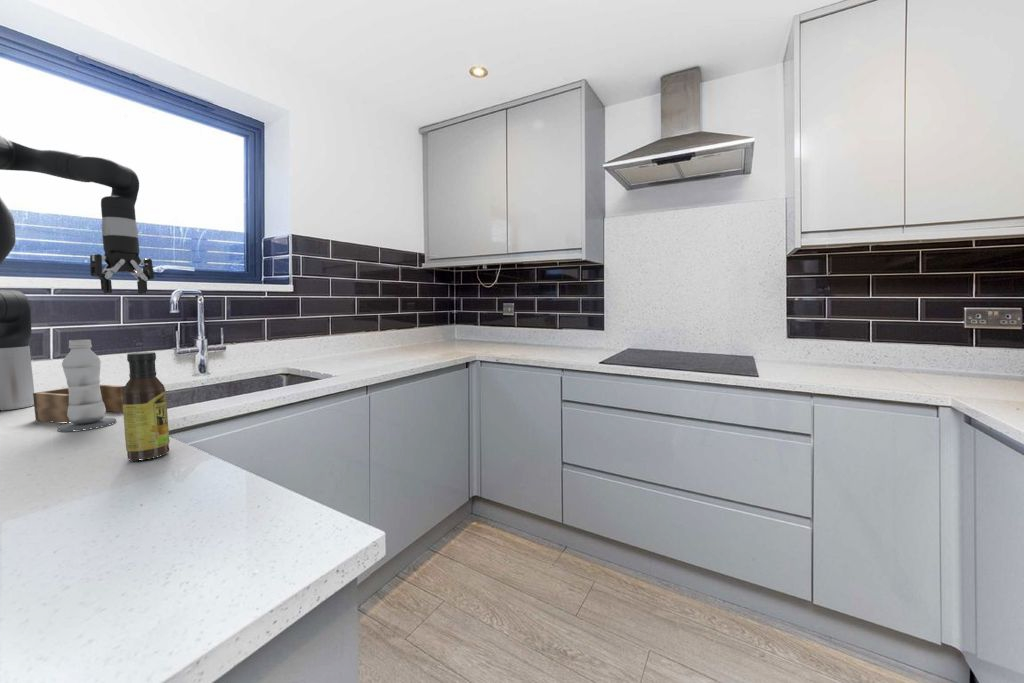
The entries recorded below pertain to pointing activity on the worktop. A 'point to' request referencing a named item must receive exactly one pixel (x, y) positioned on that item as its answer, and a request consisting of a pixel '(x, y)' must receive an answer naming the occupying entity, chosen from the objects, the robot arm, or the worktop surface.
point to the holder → (57, 402)
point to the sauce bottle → (145, 409)
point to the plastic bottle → (83, 383)
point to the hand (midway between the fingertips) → (125, 293)
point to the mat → (86, 425)
